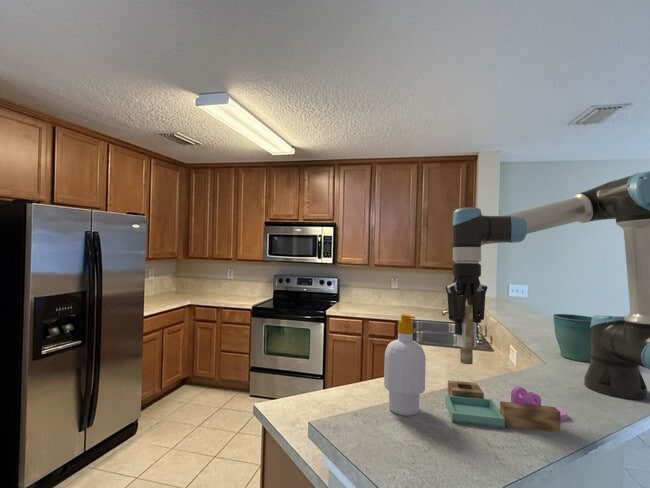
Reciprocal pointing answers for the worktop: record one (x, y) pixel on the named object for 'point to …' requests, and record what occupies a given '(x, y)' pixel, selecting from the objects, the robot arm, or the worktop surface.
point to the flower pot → (573, 336)
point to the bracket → (530, 399)
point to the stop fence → (530, 416)
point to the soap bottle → (404, 370)
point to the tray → (474, 411)
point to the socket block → (464, 389)
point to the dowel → (468, 337)
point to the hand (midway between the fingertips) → (466, 345)
